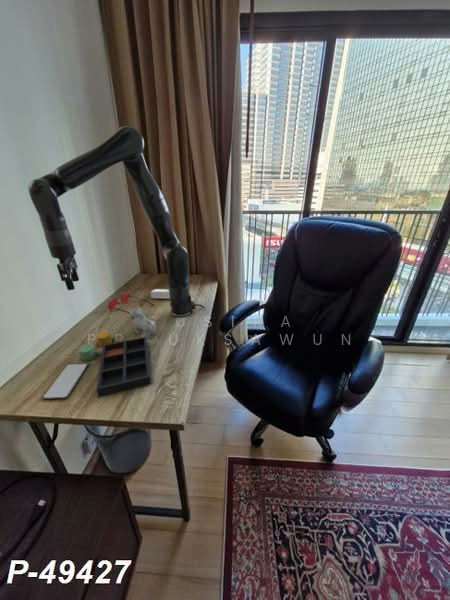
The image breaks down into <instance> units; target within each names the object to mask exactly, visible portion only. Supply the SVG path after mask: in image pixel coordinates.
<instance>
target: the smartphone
mask: <svg viewBox="0 0 450 600" xmlns="http://www.w3.org/2000/svg"><path fill="white" fill-rule="evenodd" d="M88 366H89V364H88V363H86V362H85V363H81V362H80V363H67V364H66V366H65V367H64V368H63V370H62V372H61V373H60V374H59V375H58V377H56V379H55V380H54V382H53V383H52V384H51V386H50V387H49V388H48V390H47V391H46V392H45V393H44V395H43V396H42V398H43V400H52V399H53V400H54V399H55V400H56V399H66V398H68V396H69V395H70V393H71V392H72V390H73V388H74V387H75V386H76V384H77V382H78V381H79V379H80V378H81V377H82V375H83V373H85V370H86V368H87V367H88Z"/></svg>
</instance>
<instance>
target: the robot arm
mask: <svg viewBox="0 0 450 600" xmlns="http://www.w3.org/2000/svg"><path fill="white" fill-rule="evenodd" d="M144 149H145V140H144V137H143V135H142V133H141V132H140V131H139V130H138V129H137V128H135V127H134V126H130V125H123V126H120V127H119V128H117V129H116V130H115V133H113V134H112V135H111V136H110V137H109V138H108V139H107V140H105V141H104V142H102V143H101V144H99V145H97V146H95V147H94V148H92V149H90V150H88V151H86V152H83V153H82V154H80V155H77V156H76V157H74V158H71V159H70V160H67V161H66V162H64V163H62V164H61V165H59V166H57V167H56V168H55V169H54V170H53V171H50V172H49V173H46V174H45V175H43V176H41V177H38V178H35V179H33V180H31V181H30V182H29V183H28V189H27V190H28V195H29V196H30V197H29V198H30V200H31V201H32V205H33V207H34V208H35V211H36V212H37V214H38V217H39V221H40V224H41V227H42V230H43V234H44V238H45V241H46V244H47V247H48V250H49V253H50V256H51V258H53V259H58V261H59V262H58V263H57V264H56V267H57V271H58V274H59V277H60V280H61V282H64V283H65V286H66V289H67V291H74V290H75V289H76V287H75V284H74V282H79V280H80V278H79V274H78V264H77V261H76V258H75V255H76V248H75V245H74V242H73V238H72V235H71V232H70V231H69V228H68V224H67V221H66V218H65V216H64V213H63V212H62V209H61V207H60V202H59V199H58V198H59V197H61V196H63V195H64V194H66V193H67V192H69V191H73V190H74V189H77V188H78V187H81V185H84V184H85V183H87V182H88V181H90V180H92V179H93V178H95V177H96V176H98V175H99V174H101V173H103V172H104V171H106V170H107V169H108V168H110V167H111V168H112V166H114V165H116V164H119V163H121V162H122V164H123V166H124V168H125V170H126V171H127V173H128V175H129V178H130V180H131V183H132V186H133V188H134V191H135V193H136V196H137V199H138V201H139V204H140V206H141V208H142V210H143V213H144V215H145V217H146V219H147V220H148V222H149V224H150V226H151V228H152V230H153V231H154V233H155V234H156V237H157V240H158V242H159V245H160V248H161V251H162V255H163V257H164V259H165V260H166V264H167V265H166V266H167V275H166V278H167V285H168V290H169V294H170V299H169V302H170V303H169V306H170V312H171V315H172V316H174V317H177V318H183V317H187V316H188V315H190V314H191V315H192V314H193V310H196V307H201V308H202V309H204V308H205V306H203V304H199V303H195V301H194V300H192V295H191V293H190V281H189V279H190V278H189V275H190V260H189V259H190V258H189V252H188V250H187V249H186V248H185V247H184V245H182V244H181V242H180V241H179V239H178V237H177V235H176V232H175V231H174V228H173V225H172V224H173V223H172V218H171V213H170V209H169V206H168V204H167V201H166V198H165V197H164V196H165V195H164V194H163V192H162V190H161V188H160V186H159V185H158V183H157V182H156V180H155V179H154V177H153V175H152V173H151V172H150V170H149V168H148V166H147V163H146V160H145V156H144V154H143V152H144Z"/></svg>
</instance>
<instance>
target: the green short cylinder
mask: <svg viewBox="0 0 450 600" xmlns="http://www.w3.org/2000/svg"><path fill="white" fill-rule="evenodd" d="M78 353H79V356H80V360H82V361H83V362H88V361H89V362H90V361H92V360H94V359H95V358H96V357H97V351H96V348H95V345H94V344H93V343H84V344H82V345H81V346H79V348H78Z"/></svg>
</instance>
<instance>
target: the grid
mask: <svg viewBox="0 0 450 600" xmlns="http://www.w3.org/2000/svg"><path fill="white" fill-rule="evenodd" d="M147 385H152V379H151V368H150V361H149V349H148V341H147V339H146V337H145V336H142V337H137V338H132V339H128V340H126V339H125V340H122V341H116V342H112V343H111V344H106V345H103V347H102V349H101V356H100V364H99V370H98V377H97V384H96V392H97V395H98V397H103V396H107V395H110V394H114V393H118V392H122V391H123V392H124V391H128V390H131V389H134V388H135V389H136V388H139V387H144V386H147Z"/></svg>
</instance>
